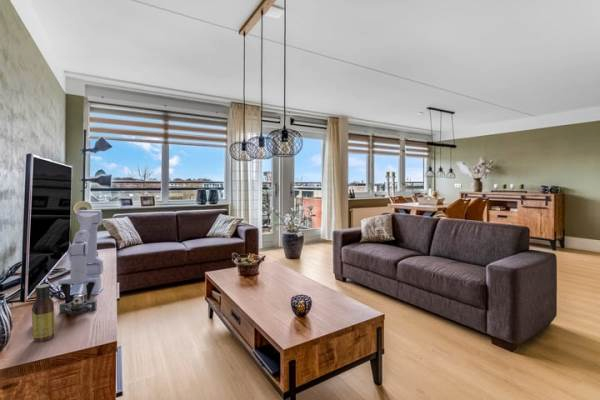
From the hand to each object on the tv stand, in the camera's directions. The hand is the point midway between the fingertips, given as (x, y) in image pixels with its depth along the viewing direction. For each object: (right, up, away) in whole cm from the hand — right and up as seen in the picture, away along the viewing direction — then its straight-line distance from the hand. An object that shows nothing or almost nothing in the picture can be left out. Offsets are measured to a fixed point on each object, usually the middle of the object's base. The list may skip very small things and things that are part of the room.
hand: (78, 299), depth 135 cm
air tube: (0, -5, 0) cm, 5 cm away
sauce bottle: (+5, -6, -24) cm, 26 cm away
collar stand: (0, -5, 0) cm, 5 cm away
